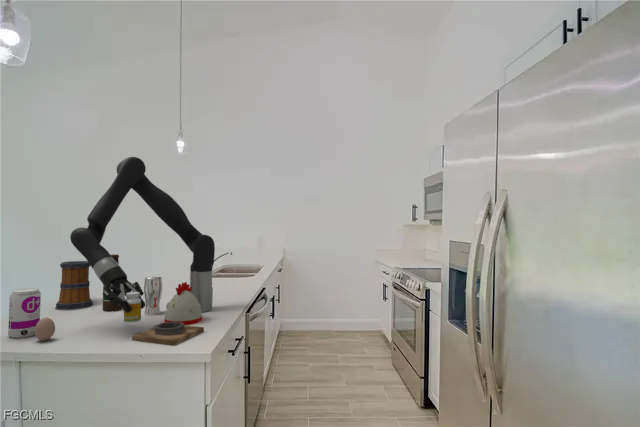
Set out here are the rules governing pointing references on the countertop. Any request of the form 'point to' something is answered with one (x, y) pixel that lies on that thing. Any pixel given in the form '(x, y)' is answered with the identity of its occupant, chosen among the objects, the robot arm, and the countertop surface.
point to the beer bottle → (107, 304)
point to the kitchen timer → (183, 307)
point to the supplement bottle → (133, 308)
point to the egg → (44, 329)
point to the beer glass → (152, 295)
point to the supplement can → (24, 312)
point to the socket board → (167, 338)
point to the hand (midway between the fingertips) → (136, 309)
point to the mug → (74, 286)
